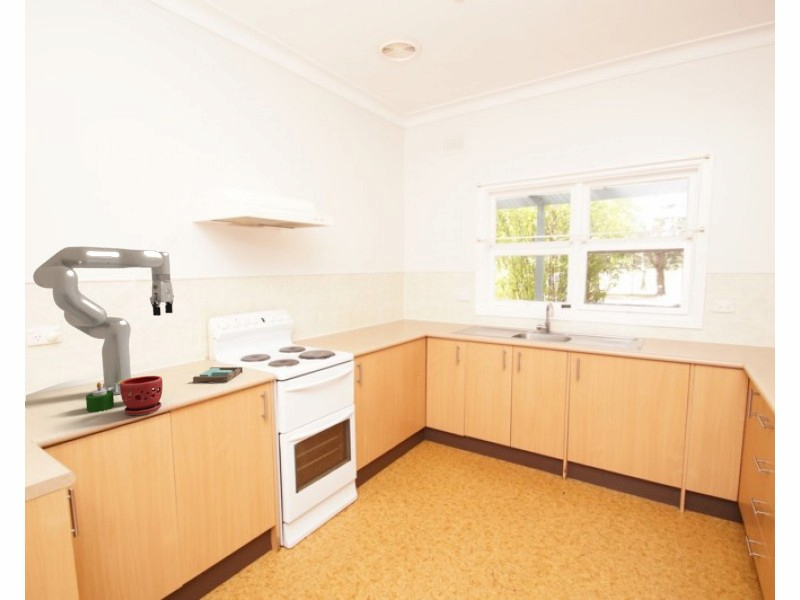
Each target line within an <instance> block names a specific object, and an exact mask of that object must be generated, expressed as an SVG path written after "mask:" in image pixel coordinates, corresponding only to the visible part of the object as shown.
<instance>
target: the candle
mask: <svg viewBox="0 0 800 600" xmlns="http://www.w3.org/2000/svg"><path fill="white" fill-rule="evenodd" d="M96 383H97V384H96V389H95V390H93V391H92V392H91V393H88V394H87V395H85V404H86V412H87V411H88V413H99V411H101V412H105V411H108V409H109V410H111V409H114V407H115V400H114V396H115V395H113V391H107V390H106V389H101V388H102V383H101V382H96ZM97 389H98V390H97ZM104 410H105V411H104Z"/></svg>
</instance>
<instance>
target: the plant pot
mask: <svg viewBox="0 0 800 600" xmlns="http://www.w3.org/2000/svg"><path fill="white" fill-rule="evenodd" d="M120 391H121V394H120V397H121V400H122V403H123V404H124V406H125V408H124V410H123V411H124V413H125V414H126V415H130V416H141V415H143V416H144V415H149V414H151V413H154V412H156V411H158V410H159V409H160V408H161V407H162V402H161V398H162V394H163V377H162V376H159V375H143V376H139V377H137V376H136V378H135V377H131V379H128V380H124V381H122V382H121V383H120ZM129 392H131V393H132V394H131V395H130V393H129Z"/></svg>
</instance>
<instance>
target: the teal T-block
mask: <svg viewBox="0 0 800 600" xmlns="http://www.w3.org/2000/svg"><path fill="white" fill-rule="evenodd" d="M210 368H211V367H210ZM210 368H209V369H208V370H206V371H204V372H201V373H200V374H199V376H226V375H228V374H230V373H231V372H233V370H220V368H211V369H210Z"/></svg>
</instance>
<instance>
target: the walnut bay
mask: <svg viewBox="0 0 800 600" xmlns="http://www.w3.org/2000/svg"><path fill="white" fill-rule="evenodd" d="M211 368H220V370H233V372H231V373H230V374H228V375H226V376H200V375H197V376H196V375H195V376H193V377H192V383H193V382H227V383H229V382H230V381H232V380H233V379H234V378H236V377H237V376H239V375H240V373H241V374H242V373H243V367H242V366H240V367H239V366H238V367H237V366H236V367H235V366H233V367H231V366H230V367H229V366H228V367H227V366H226V367H225V366H224V367H223V366H219V367H215V366H214V367H212V366H211V367H210V368H209V369H211ZM228 381H229V382H228Z"/></svg>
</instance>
